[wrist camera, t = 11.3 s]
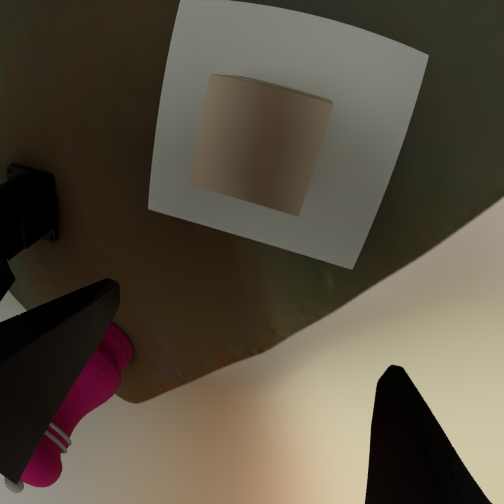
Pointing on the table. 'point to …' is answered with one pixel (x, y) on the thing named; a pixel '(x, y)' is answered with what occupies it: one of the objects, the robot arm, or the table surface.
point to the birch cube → (259, 141)
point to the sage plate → (301, 78)
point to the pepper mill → (77, 408)
